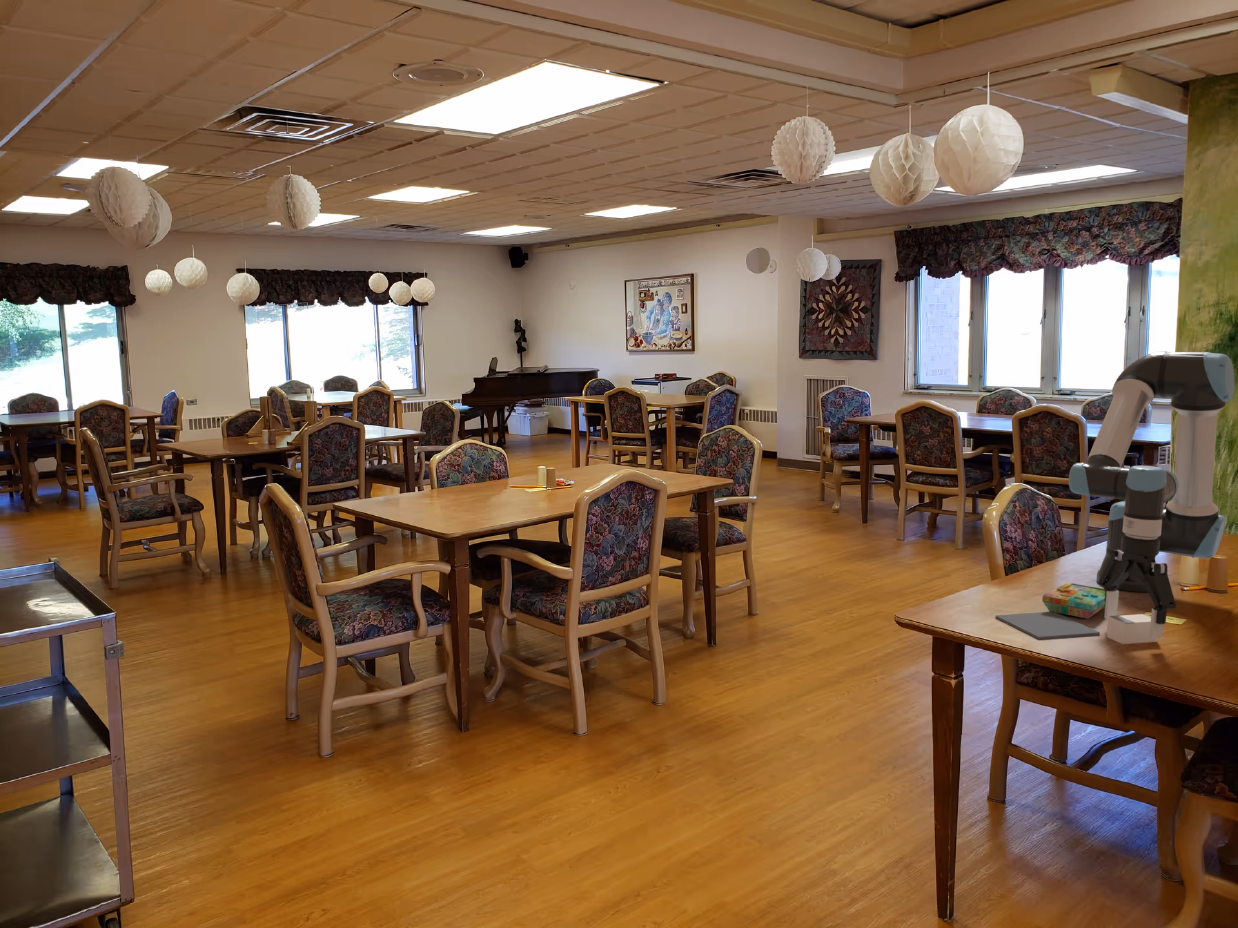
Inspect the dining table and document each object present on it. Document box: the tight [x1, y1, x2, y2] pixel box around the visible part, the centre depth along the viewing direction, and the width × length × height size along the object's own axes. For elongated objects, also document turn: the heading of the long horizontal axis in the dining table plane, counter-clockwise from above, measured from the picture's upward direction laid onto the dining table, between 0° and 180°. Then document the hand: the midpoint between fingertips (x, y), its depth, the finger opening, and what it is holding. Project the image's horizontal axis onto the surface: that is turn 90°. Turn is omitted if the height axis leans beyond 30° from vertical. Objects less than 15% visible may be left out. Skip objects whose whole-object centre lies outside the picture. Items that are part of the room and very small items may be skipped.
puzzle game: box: [1042, 582, 1106, 620], centre depth 234 cm, size 12×5×20 cm
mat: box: [995, 611, 1101, 640], centre depth 221 cm, size 16×16×1 cm
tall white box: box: [1105, 613, 1158, 645], centre depth 212 cm, size 9×5×5 cm, turn 102°
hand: (1132, 627), depth 212 cm, fingers open, 13 cm apart
